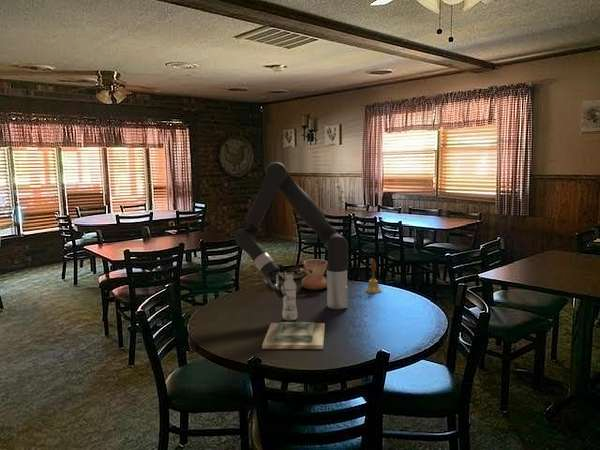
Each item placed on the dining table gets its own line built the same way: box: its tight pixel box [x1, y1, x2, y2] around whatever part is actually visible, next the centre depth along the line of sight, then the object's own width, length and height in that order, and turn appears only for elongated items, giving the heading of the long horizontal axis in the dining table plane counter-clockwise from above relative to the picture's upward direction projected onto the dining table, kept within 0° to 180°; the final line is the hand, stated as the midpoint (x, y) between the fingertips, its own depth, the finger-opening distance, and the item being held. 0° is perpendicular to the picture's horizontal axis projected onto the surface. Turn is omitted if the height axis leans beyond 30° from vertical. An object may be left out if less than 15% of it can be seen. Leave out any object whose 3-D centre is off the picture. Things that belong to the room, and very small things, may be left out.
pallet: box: [261, 321, 326, 350], centre depth 182 cm, size 22×22×4 cm
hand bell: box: [364, 259, 383, 294], centre depth 238 cm, size 8×8×16 cm
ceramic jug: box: [299, 258, 328, 291], centre depth 247 cm, size 18×14×14 cm
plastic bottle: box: [281, 272, 298, 322], centre depth 200 cm, size 6×7×20 cm
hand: (288, 295), depth 200 cm, fingers open, 8 cm apart
